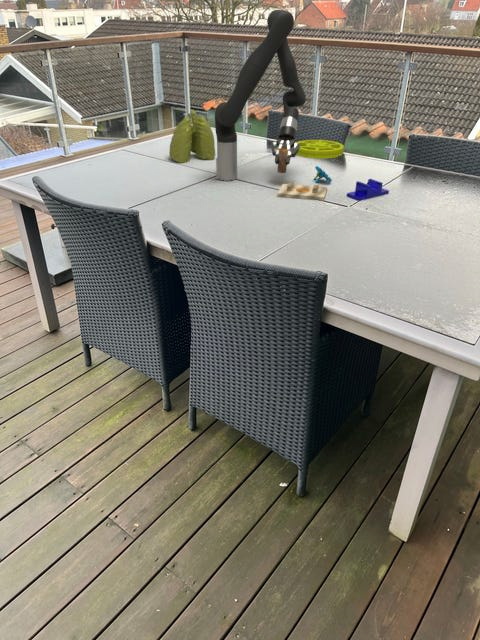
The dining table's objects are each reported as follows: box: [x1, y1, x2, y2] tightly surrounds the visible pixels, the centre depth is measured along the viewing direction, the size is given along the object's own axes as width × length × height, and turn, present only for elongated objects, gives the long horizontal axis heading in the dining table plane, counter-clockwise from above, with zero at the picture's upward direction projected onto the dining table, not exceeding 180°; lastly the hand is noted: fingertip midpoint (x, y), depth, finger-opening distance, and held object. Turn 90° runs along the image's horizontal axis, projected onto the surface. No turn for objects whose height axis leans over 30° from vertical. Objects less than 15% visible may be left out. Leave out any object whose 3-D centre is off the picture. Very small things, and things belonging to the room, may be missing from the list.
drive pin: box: [277, 148, 288, 174], centre depth 220 cm, size 4×4×10 cm
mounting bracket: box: [346, 178, 390, 202], centre depth 211 cm, size 18×7×6 cm, turn 123°
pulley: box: [293, 139, 345, 160], centre depth 276 cm, size 28×28×5 cm
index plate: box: [276, 182, 328, 201], centre depth 213 cm, size 20×14×4 cm
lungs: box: [168, 109, 216, 164], centre depth 259 cm, size 25×16×24 cm, turn 113°
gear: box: [313, 165, 333, 184], centre depth 227 cm, size 11×6×10 cm
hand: (281, 163), depth 219 cm, fingers closed on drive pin, 4 cm apart
